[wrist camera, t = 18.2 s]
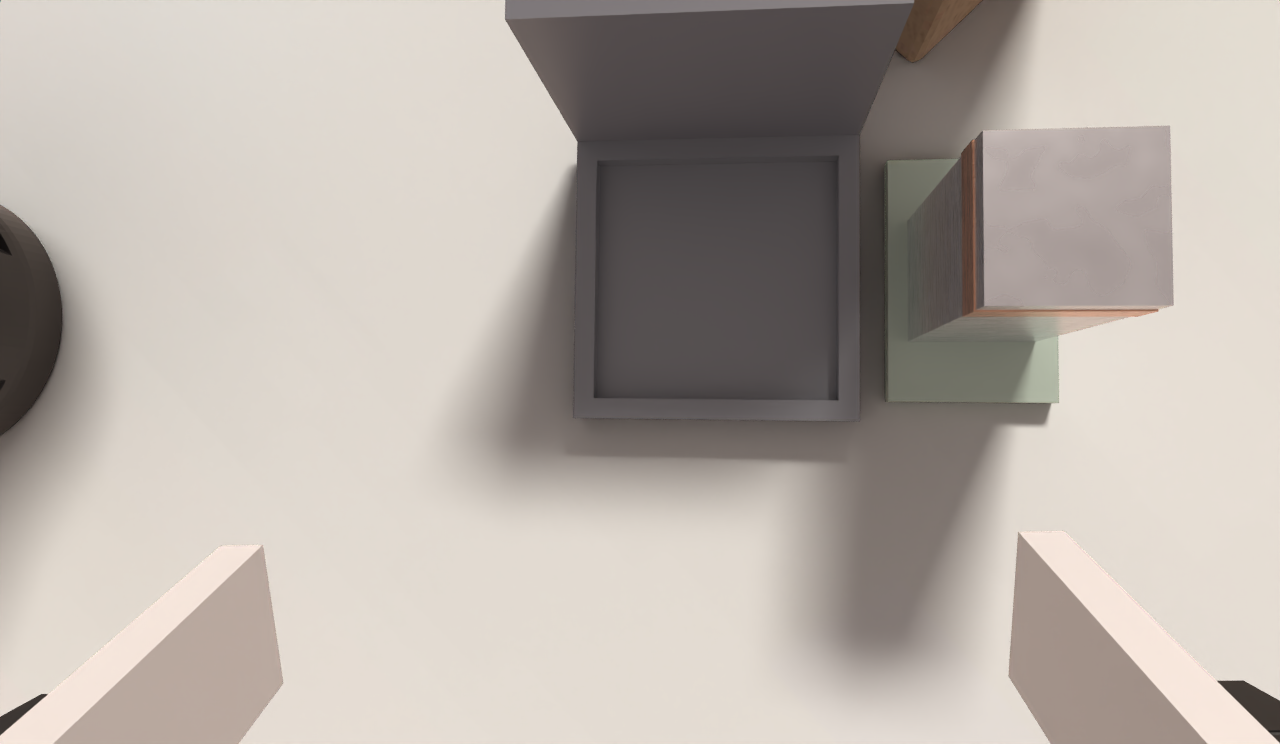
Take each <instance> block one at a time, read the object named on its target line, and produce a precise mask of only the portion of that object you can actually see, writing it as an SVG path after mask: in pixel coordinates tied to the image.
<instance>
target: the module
mask: <svg viewBox="0 0 1280 744" xmlns="http://www.w3.org/2000/svg"><path fill="white" fill-rule="evenodd" d="M907 232H908V342H1036V341H1040V340H1044V339H1048V338H1052V337H1056V336H1059V335H1063V334H1067V333H1071V332H1075V331H1078V330H1082V329H1086V328H1090V327H1094V326H1097V325H1101V324H1105V323H1109V322H1113V321H1116V320H1120V319H1124V318H1128V317H1138V316H1142V315H1146V314H1150V313H1154V312H1158V309H1162V308H1166V307H1170V306H1173V253H1172V202H1171V150H1170V126H1144V127H1103V128H1062V129H1021V130H983V131H982V132H981V133H980V134H979V136H978V137H977V138H976V139H975V140H972V141H971V142H970V143H969V145H968V146H967V147H966V148H965V149H964V151H963V152H962V153H961V157H960V158H959V160H958V161H957V162H956V163H955V164H954V166H953V167H952V168H951V169H950V170H949V172H948V173H947V174H946V175H945V176H944V178H943V179H942V180H941V181H940V182H939V184H938V185H937V186H936V187H935V188H934V190H933V191H932V192H931V193H930V194H929V196H928V197H927V198H926V199H925V200H924V202H923V203H922V204H921V205H920V206H919V208H918V209H917V210H916V211H915V212H914V214H913V215H912V216H911V217H910V218H909V220H908V221H907Z"/></svg>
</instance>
